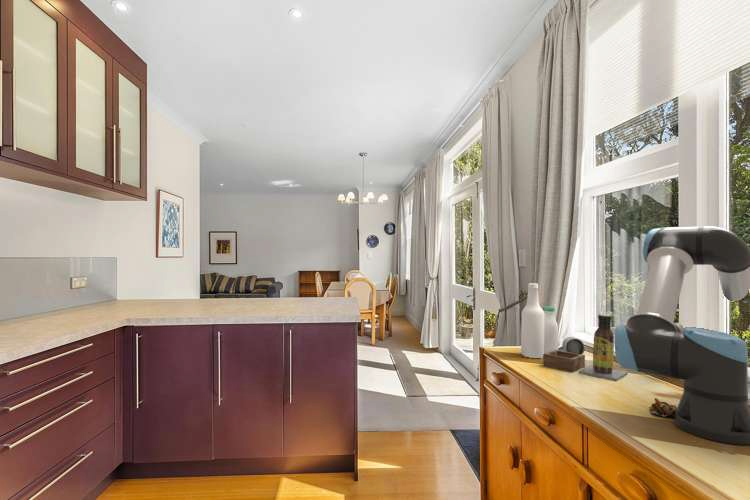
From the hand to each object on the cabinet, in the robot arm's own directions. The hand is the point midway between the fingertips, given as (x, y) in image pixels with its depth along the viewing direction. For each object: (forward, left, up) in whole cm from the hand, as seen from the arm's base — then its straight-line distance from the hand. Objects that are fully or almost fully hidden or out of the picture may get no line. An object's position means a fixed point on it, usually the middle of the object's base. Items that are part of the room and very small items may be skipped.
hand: (621, 334), depth 143 cm
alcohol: (-2, +32, -14) cm, 35 cm away
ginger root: (-33, -19, -14) cm, 40 cm away
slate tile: (-7, +4, -13) cm, 16 cm away
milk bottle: (+7, +29, -14) cm, 33 cm away
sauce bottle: (-6, +4, -13) cm, 15 cm away
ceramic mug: (+14, +23, -14) cm, 31 cm away
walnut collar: (-8, +17, -13) cm, 23 cm away
